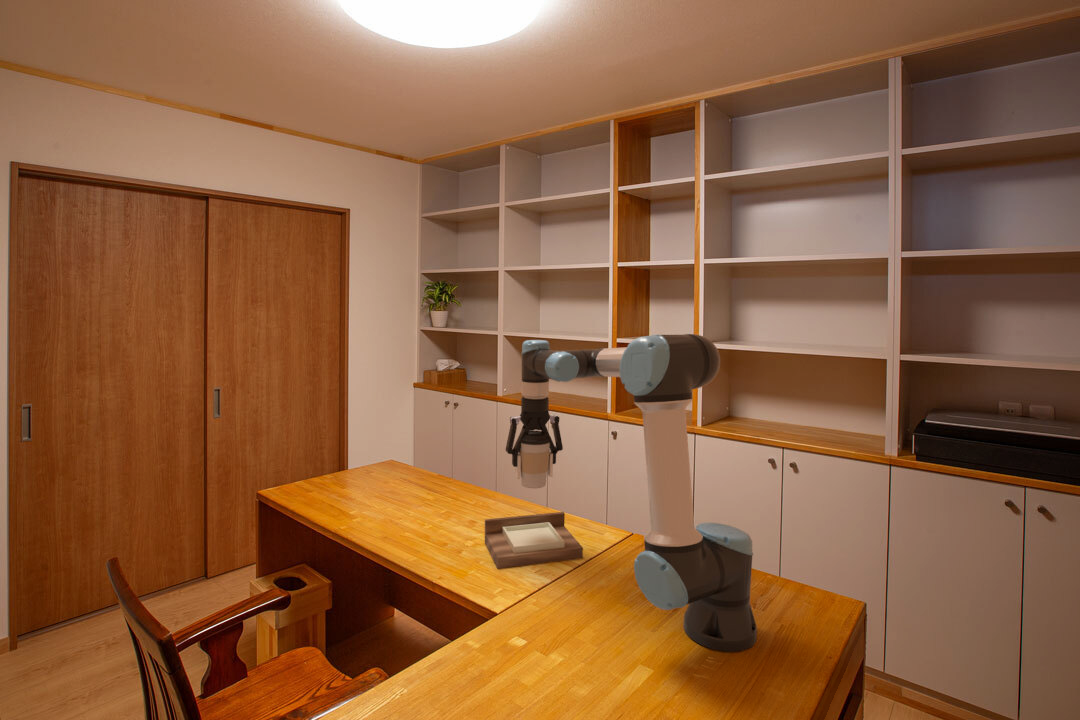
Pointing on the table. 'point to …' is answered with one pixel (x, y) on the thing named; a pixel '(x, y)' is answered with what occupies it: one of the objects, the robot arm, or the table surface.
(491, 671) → the table surface
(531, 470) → the coffee cup
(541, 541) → the tray
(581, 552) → the shelf
